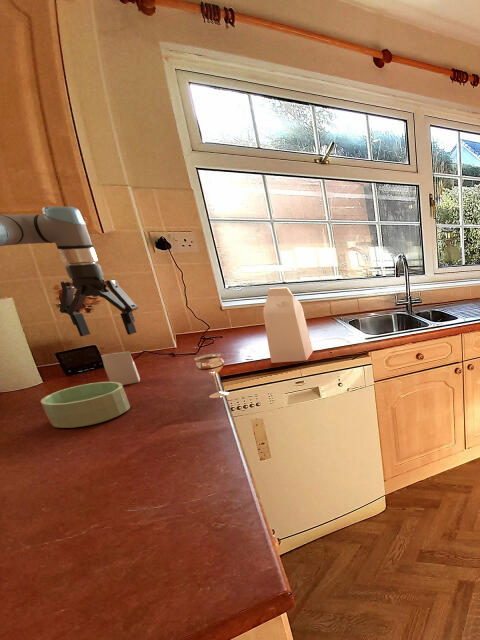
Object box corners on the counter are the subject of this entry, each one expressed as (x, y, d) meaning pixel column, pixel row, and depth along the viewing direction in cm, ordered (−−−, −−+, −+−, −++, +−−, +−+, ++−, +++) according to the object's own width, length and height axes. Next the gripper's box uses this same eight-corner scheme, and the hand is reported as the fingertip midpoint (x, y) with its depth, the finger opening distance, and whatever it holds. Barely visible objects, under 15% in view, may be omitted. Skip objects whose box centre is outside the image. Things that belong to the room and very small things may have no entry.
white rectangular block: (139, 382, 137) (128, 352, 134) (111, 386, 134) (100, 356, 130) (140, 378, 140) (129, 350, 137) (113, 383, 137) (102, 353, 133)
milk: (313, 351, 167) (300, 285, 158) (306, 360, 157) (292, 289, 147) (280, 353, 165) (265, 286, 156) (271, 362, 155) (254, 291, 145)
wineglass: (234, 389, 131) (224, 352, 127) (228, 397, 125) (217, 359, 121) (209, 392, 129) (198, 354, 125) (202, 400, 123) (190, 361, 119)
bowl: (34, 431, 106) (22, 406, 103) (86, 405, 120) (76, 382, 118) (100, 428, 107) (90, 403, 105) (144, 403, 122) (136, 380, 119)
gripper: (136, 261, 128) (159, 329, 136) (47, 263, 126) (76, 332, 134) (117, 264, 121) (142, 335, 129) (23, 266, 119) (54, 339, 127)
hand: (108, 334), depth 131 cm, fingers open, 13 cm apart
